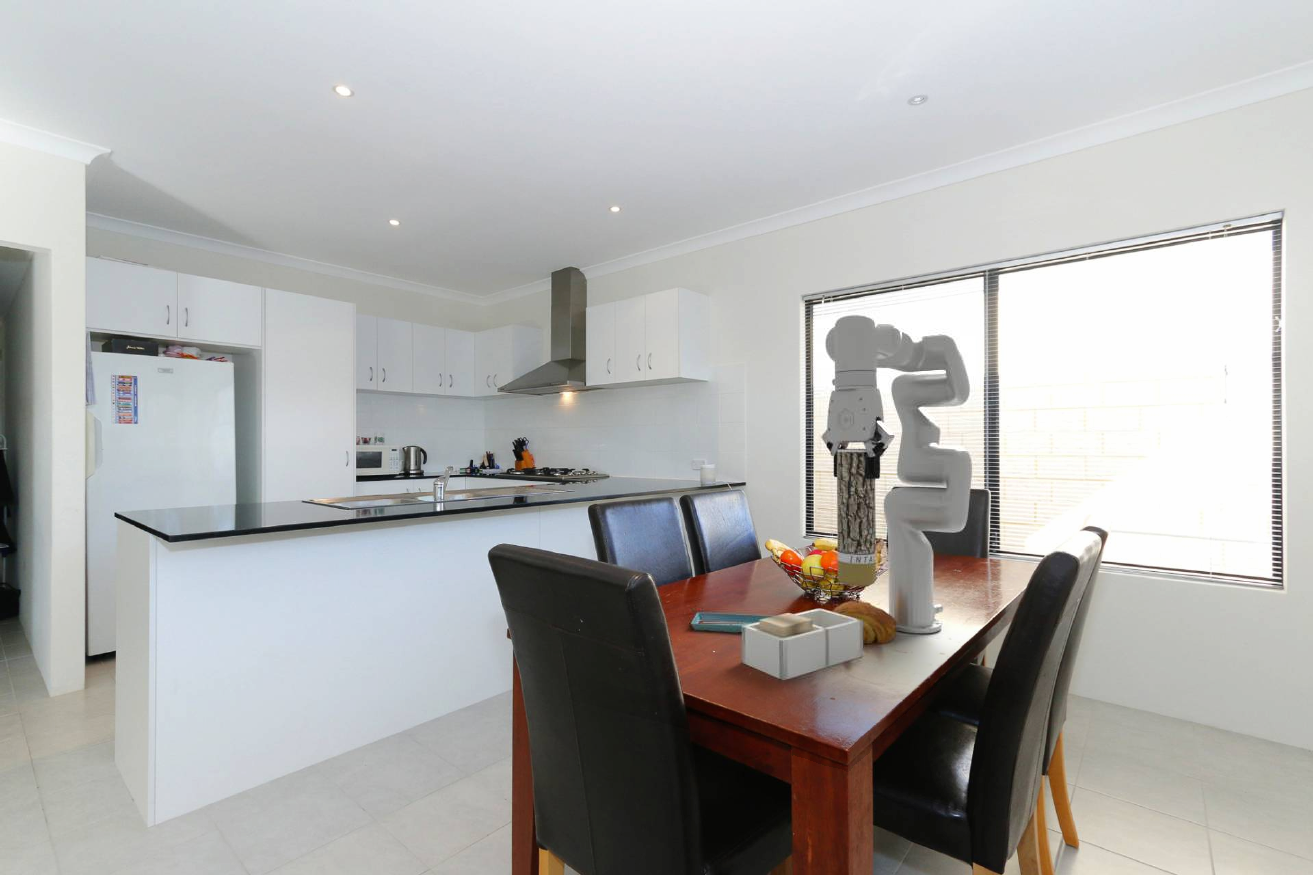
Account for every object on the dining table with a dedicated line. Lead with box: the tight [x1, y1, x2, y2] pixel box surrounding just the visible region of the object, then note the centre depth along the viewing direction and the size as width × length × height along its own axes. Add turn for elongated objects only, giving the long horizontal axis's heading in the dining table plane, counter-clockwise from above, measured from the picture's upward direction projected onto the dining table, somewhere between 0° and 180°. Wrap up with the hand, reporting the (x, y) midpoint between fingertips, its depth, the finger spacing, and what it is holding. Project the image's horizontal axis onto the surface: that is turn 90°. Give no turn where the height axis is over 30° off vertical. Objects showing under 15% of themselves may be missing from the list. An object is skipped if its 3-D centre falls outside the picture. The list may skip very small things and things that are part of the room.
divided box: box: [741, 608, 864, 681], centre depth 122 cm, size 22×11×7 cm, turn 124°
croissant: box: [831, 600, 897, 645], centre depth 137 cm, size 14×16×8 cm
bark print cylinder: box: [836, 448, 877, 587], centre depth 117 cm, size 7×7×25 cm
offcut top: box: [759, 612, 812, 638], centre depth 119 cm, size 8×6×3 cm
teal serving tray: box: [690, 612, 774, 633], centre depth 143 cm, size 26×9×2 cm, turn 77°
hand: (856, 477), depth 117 cm, fingers closed on bark print cylinder, 6 cm apart
